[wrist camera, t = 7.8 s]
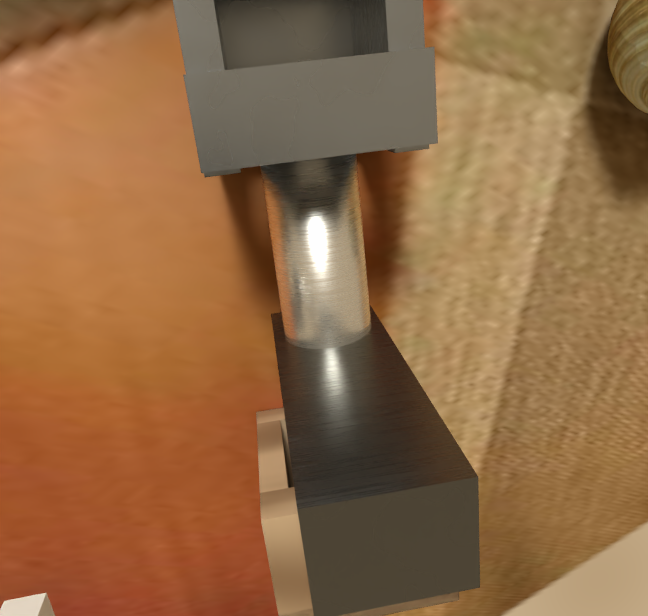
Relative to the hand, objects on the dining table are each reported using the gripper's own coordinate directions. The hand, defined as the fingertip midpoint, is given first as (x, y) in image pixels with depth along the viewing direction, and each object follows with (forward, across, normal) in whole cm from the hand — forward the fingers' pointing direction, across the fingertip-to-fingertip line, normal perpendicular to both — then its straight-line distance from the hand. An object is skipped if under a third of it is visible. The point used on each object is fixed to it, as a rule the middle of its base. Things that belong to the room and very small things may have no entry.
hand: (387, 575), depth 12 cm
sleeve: (+13, +1, +12) cm, 18 cm away
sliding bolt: (+13, +1, +1) cm, 13 cm away
